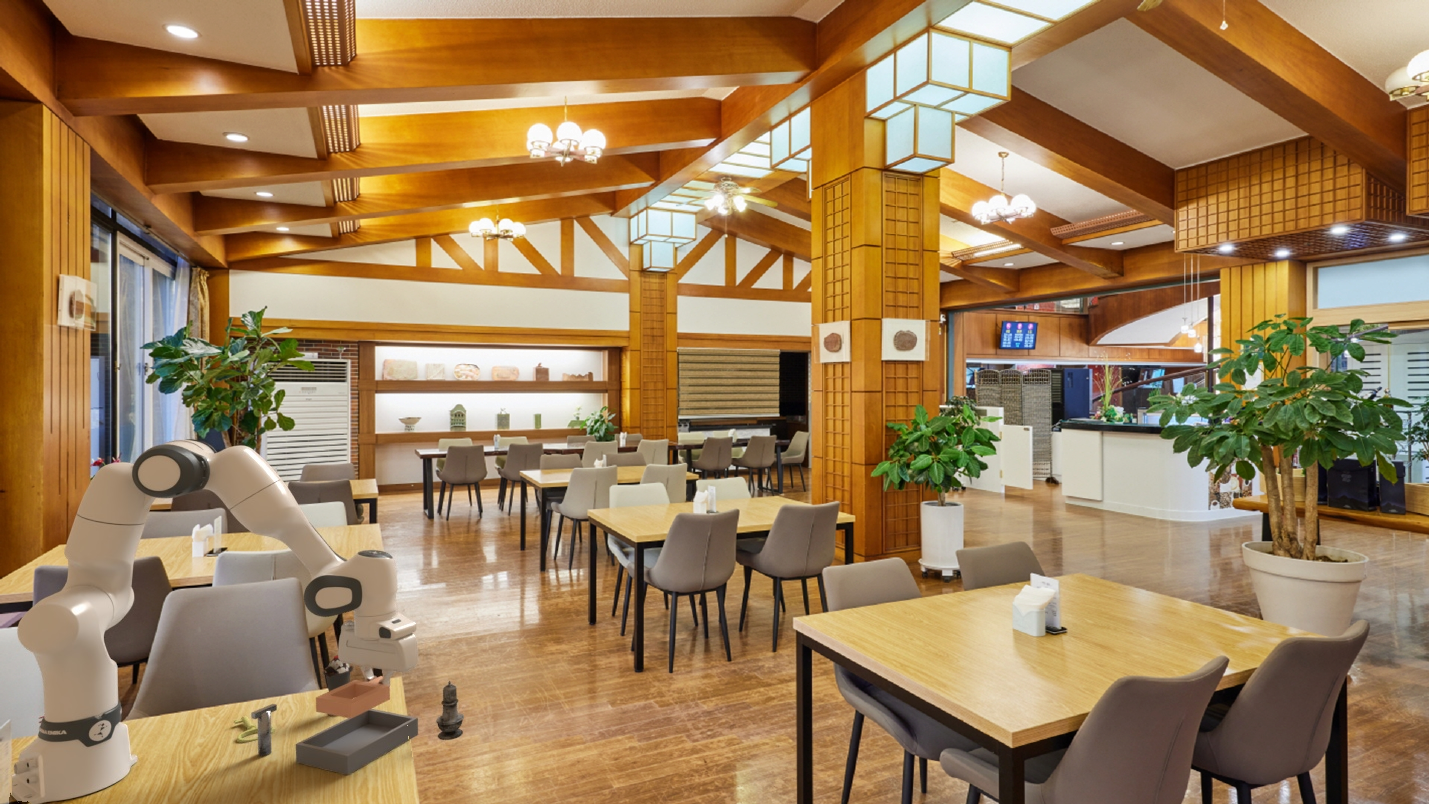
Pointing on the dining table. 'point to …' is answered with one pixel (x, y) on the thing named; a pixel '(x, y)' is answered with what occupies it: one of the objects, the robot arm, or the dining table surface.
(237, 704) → the dining table surface
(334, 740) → the tray
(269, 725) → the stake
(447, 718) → the salt shaker
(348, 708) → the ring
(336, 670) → the sundae
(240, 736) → the key
